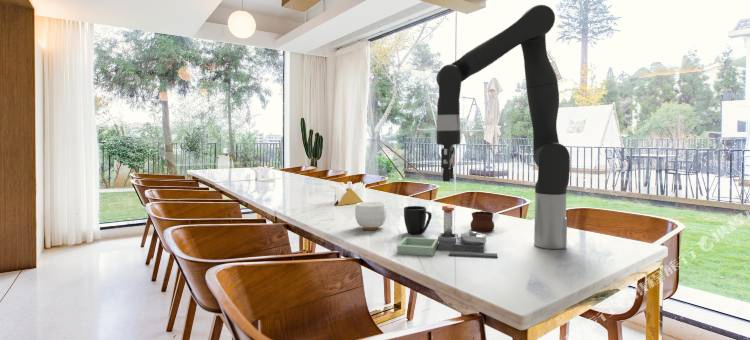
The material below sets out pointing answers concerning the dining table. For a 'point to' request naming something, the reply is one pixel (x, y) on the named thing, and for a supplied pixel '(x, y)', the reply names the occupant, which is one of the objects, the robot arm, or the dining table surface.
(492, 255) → the strip
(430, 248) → the tray
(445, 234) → the lock pin
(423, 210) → the mug
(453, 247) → the grey stepped block
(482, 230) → the ceramic pot
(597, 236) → the dining table surface
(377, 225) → the cup
